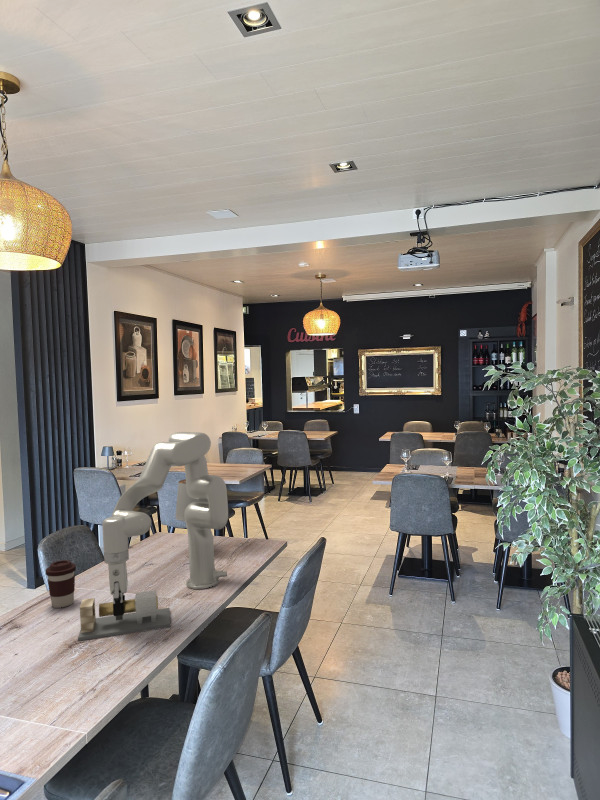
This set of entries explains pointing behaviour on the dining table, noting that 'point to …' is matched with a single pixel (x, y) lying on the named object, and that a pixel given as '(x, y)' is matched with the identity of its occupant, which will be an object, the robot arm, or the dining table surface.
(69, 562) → the coffee cup
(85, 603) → the socket
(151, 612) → the sleeve
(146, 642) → the dining table surface
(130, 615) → the board
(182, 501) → the lamp
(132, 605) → the tube
